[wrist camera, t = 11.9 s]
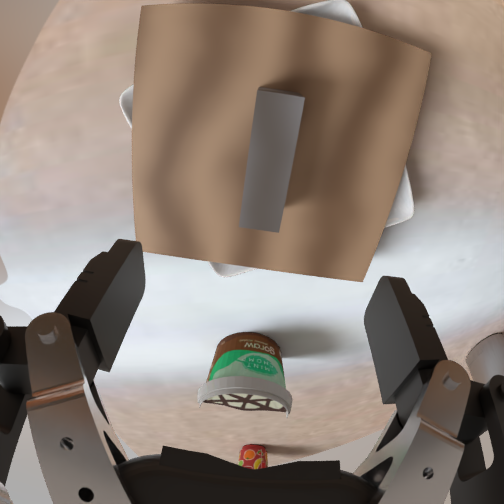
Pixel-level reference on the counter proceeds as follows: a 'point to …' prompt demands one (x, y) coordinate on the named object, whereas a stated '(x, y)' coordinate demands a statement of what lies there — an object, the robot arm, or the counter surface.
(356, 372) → the counter surface
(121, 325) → the robot arm
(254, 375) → the food container
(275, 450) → the counter surface
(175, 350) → the counter surface
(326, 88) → the cover board
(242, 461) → the smoothie
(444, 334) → the counter surface
